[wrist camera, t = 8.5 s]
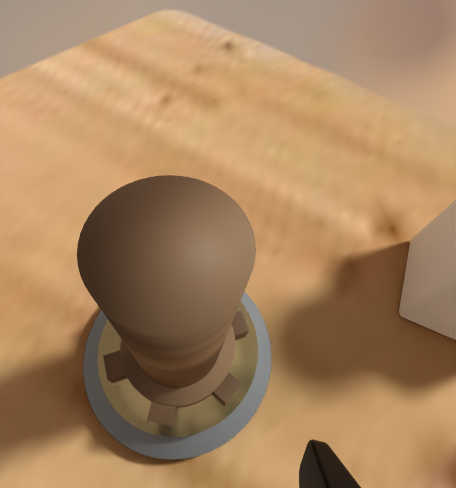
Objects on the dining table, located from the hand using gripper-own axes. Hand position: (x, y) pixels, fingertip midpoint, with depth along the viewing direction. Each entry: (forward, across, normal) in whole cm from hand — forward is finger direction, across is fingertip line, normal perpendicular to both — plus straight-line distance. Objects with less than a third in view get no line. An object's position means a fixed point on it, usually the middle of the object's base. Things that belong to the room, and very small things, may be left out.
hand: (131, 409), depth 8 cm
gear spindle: (+10, 0, +4) cm, 11 cm away
